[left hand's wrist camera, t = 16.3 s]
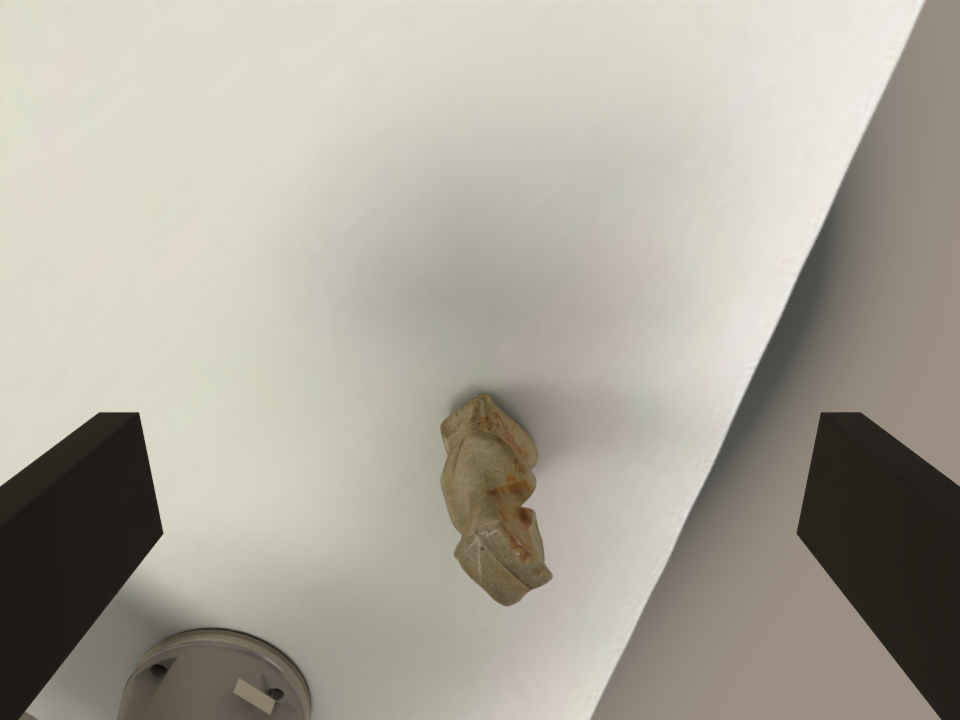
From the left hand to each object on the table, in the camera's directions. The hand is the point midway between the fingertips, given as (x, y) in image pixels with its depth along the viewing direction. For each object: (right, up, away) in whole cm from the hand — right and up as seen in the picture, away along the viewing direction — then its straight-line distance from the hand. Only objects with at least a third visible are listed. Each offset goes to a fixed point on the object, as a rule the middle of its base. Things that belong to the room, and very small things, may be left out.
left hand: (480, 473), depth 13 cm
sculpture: (+1, -3, +34) cm, 34 cm away
